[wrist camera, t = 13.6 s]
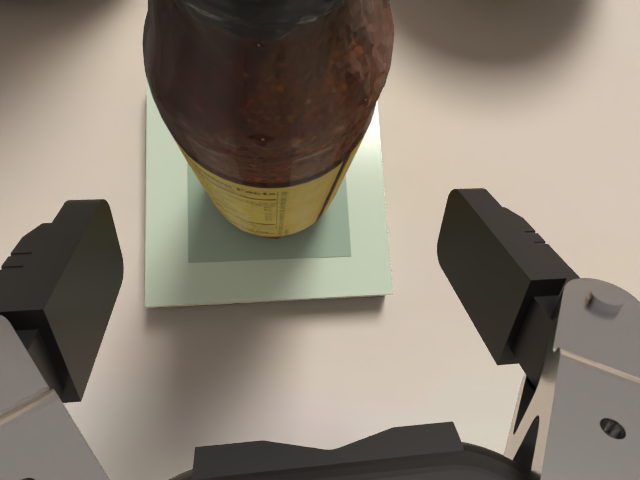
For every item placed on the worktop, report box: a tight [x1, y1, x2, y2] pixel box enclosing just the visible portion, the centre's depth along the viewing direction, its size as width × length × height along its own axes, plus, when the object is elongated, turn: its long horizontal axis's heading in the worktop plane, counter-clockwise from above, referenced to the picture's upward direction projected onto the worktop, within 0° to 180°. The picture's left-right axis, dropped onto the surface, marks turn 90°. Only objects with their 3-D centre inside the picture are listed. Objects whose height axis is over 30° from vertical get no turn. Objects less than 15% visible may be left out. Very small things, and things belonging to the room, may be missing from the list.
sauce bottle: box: [143, 0, 394, 239], centre depth 13 cm, size 6×6×20 cm
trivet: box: [145, 81, 393, 308], centre depth 24 cm, size 12×12×2 cm
